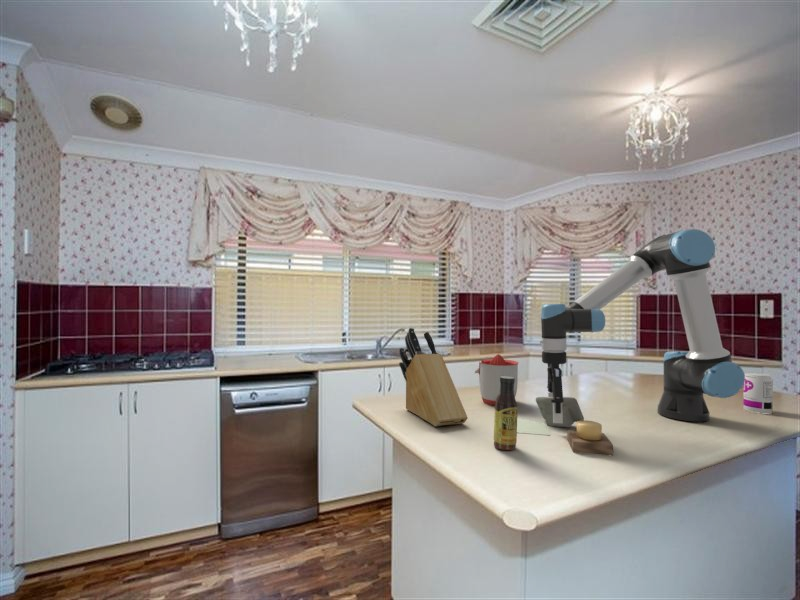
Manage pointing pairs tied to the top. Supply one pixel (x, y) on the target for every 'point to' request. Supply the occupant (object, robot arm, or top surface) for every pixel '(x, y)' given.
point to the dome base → (589, 444)
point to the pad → (531, 427)
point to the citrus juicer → (495, 377)
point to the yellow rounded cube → (589, 430)
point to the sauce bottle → (505, 416)
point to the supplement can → (758, 393)
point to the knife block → (429, 384)
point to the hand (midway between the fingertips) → (555, 417)
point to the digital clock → (568, 409)
